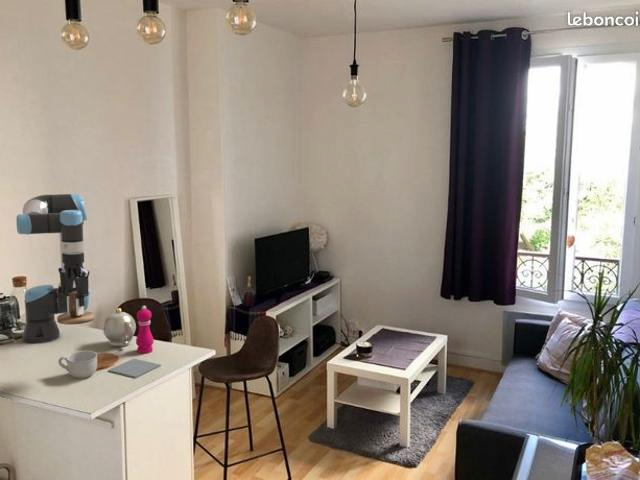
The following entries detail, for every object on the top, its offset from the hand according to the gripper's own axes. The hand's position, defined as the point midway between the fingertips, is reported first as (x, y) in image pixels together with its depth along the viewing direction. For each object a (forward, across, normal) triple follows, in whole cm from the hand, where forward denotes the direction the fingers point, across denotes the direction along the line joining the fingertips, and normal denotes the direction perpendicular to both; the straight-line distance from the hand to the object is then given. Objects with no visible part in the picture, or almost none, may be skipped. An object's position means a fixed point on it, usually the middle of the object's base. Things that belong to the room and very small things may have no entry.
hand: (75, 313), depth 220 cm
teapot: (+25, -10, +33) cm, 42 cm away
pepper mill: (+25, +4, +32) cm, 40 cm away
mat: (+24, +14, +15) cm, 32 cm away
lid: (+2, 0, 0) cm, 2 cm away
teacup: (+25, 0, 0) cm, 25 cm away
